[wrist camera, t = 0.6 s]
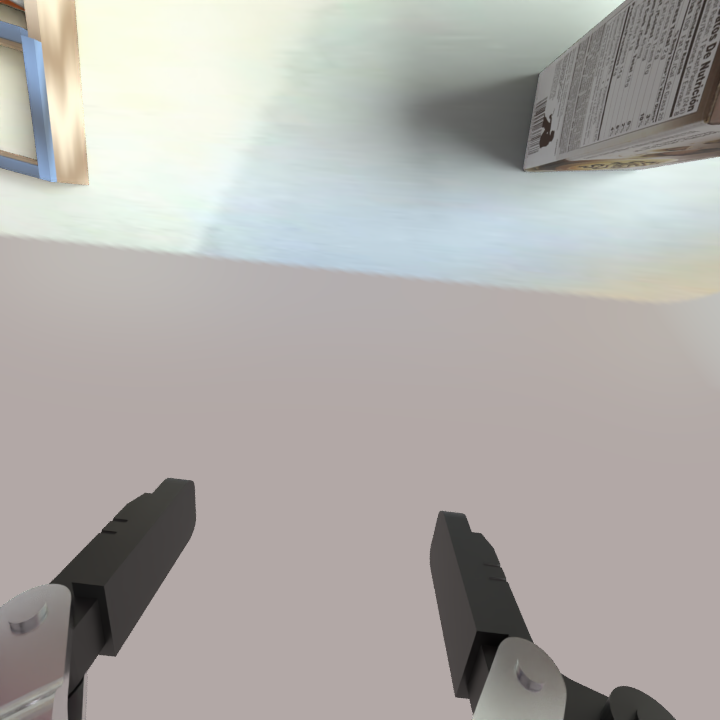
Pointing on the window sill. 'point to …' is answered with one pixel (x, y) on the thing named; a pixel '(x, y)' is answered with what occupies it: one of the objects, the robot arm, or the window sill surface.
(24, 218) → the window sill surface
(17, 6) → the skincare box
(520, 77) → the window sill surface
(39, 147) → the organiser
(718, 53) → the coffee box
